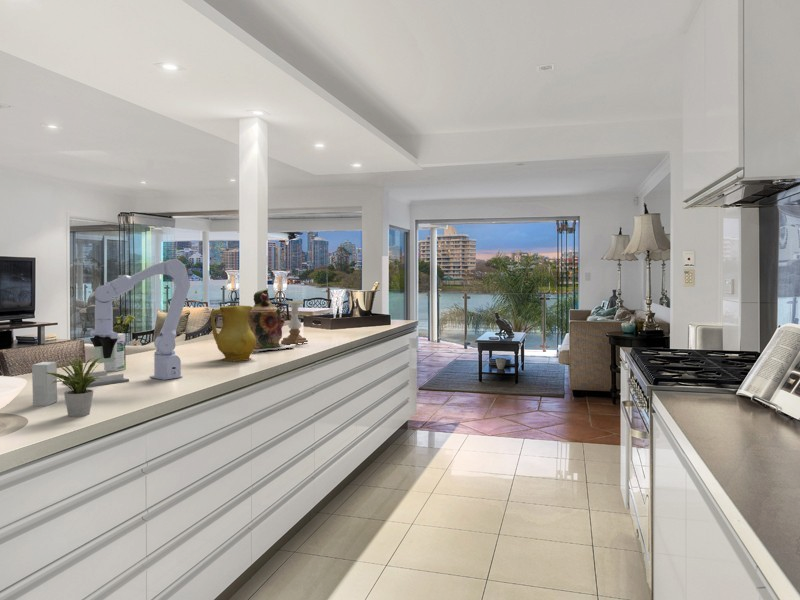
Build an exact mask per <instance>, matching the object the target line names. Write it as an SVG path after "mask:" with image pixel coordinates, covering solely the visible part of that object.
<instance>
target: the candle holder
mask: <svg viewBox="0 0 800 600" xmlns="http://www.w3.org/2000/svg"><path fill="white" fill-rule="evenodd" d="M285 304H286V305H289V306H290V308H291V311H290V312H289V314H290V316H291V317H290V321H289V322H288V325H287V326H288V328H289V331H288V332H289V335H287V337H282V340H280V344H281V343H282V345H287V344H298V343H304V342H308V341H309V339H307V338H306V337H303V336H302V335H301V334H300V333H301V330H300V329H301V327H302V323H301V322H300V319H299V314H300V312H299V307H300V306H301V305H303V304H305V302H304V301H298V300H297V301H295V300H293V301H292V300H291V301H285ZM308 343H309V342H308Z"/></svg>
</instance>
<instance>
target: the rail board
mask: <svg viewBox="0 0 800 600" xmlns="http://www.w3.org/2000/svg"><path fill="white" fill-rule="evenodd" d="M91 372H92V371H90V372H89V374H88V376H89V375H90V376H98V377H94V378H100V379H101V380H100V379H94V380H97V381H94V382H92V383H90V384H89V385H88V386H87V388H92V387H98V386H99V387H100V386H107V385H115V384H121V383H127V382H130V378H129V379H128V378H124V373H116V374H115V373H114V374H108V371H105V370H99V371H93V372H92V373H91ZM85 373H86V372H83V375H85ZM90 373H91V374H90ZM70 375H71V376H72V377H73V375H72V374H70ZM67 377H69V378H70V379H71V377H70V376H69V375H68V374H67ZM92 379H93V378H92ZM64 381H65V380H64ZM65 382H66V381H65ZM65 382H64V383H65ZM64 383H63V384H64ZM65 384H67V383H65ZM65 384H64V385H65ZM67 385H68V384H67Z"/></svg>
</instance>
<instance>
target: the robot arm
mask: <svg viewBox="0 0 800 600" xmlns="http://www.w3.org/2000/svg"><path fill="white" fill-rule="evenodd" d="M156 275H166V276H167V277H168V278H170V279H171V281H172V283H173V284H174V285H175V287H174V291H173V293H172V297H171V300H170V302H169V306H168V310H167V313H166V316H165V318H164V322H163V325H162V328H161V329H160V332H159V334H158V335H157V336H156V338H155V339H154V340H153V341H154V342H153V343H154V348H155V349H156V351H154V353H153V354H154V355H153V357H154V359H153V360H154V363H153V365H154V367H153V368H154V370H153V371H154V373H153V375H149V378H151V379H152V378H153V379H158V380H164V381H165V380H171V379H179V378H183V375H182V372H181V371H182V370H181V369H182V366H181V365H182V364H181V363H182V361H181V358H180V357H179V356H178V355H176V351H175V348H176V336H177V328H178V326H179V322H180V320H181V315H182V312H183V309H184V306H185V303H186V301H187V297H188V294H189V290H190V287H191V281H190V279H189V274H188V271H187V267H186V266H185V265H184V263H183V262H182V261H181V260H180V259H177V258H171V259H167V260H166V261H161V262H157V263H155V264H152V265H150V266H148V267H146V268H144V269H143V270H140V271H139V272H136V273H134V274H133V275H127V274H123V275H122V274H119V275H118V276H117V278H115V279H113V280H112V281H109V282H108V281H105V282H104V284H103V285H102V284H101V285H99V286H98V287H96V288H95V290H94V293H93V295H94V298H95V300H94V301H95V302H94V304H95V305H94V329H93V330H90V336H91V337H90V338H89V340H90V341H91V343H92V345H93V348H94V347H97V346H102V348H103V356H104V358H111V355H112V351H113V348H114V345H115V343H116V342H117V338H118V333H119V332H116V331H114V329H113V327H114V326H113V325H114V323H113V322H114V317H113V315H114V313H113V311H114V309H113V298H114V297H116V298H117V297H118V296H121V295H124V294H125V293H127V292H129V291H132V290H133V289H134V287H135V285H136V284H137V283H140V282H142V281H144V280H148V279H149V278H151V277H153V276H156Z"/></svg>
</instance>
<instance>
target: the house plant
mask: <svg viewBox="0 0 800 600" xmlns="http://www.w3.org/2000/svg"><path fill="white" fill-rule="evenodd" d="M102 358H104V357H102ZM64 359H65V360H66V362H68V363H69V365H70V366H71V368H72V370H73V371H72V370H71V369H70V368H69V367H68V366H67V365H66V364H63V363H59V362H57V361H52V362H53V363H56V364H57V367H59V368H61V369H62V370H63V371H64V372H66V374H67V375H64V374H61V373H47V374H51V375H54V376H56V377H57V381H54V382H57V383H59V382H62V384H63V385H65V386H67V387H68V388H69V389H70V390H67V391H64V392H63V396H64V401H65V406H66V411H67V416H68V417H74V418H78V417H85V416H88V415H90V413H91V408H92V401H93V396H94V390H93V389H88V387H87V386H88V385H89V384H90V383H92V382H94V381H97V380H94V379H100V378H94V377H98V376H90V375H89V376H88V374H89V372H91V373H92V372H94V370H92V369H96V368H97V367H98V366H99V365H100V363H96V362H97V361H98V360H99V359H101V358H98V359H96V360H93V359H94V357H92V358H90V359H88V360H86V361H87V362H86V363H85V365H84V364H83V362H82V357H81V355H79V356H78V360H77V359H76V358H75V357H72V359H73V363H72V362H71V361H70V360H69V359H67V358H66V357H64ZM91 360H93V361H92V362H91V363H90V364H89V365H88V363H89V362H90V361H91ZM58 364H59V365H58ZM96 364H97V365H96ZM87 365H88V368H87V370H86V371H85V369H86V367H87ZM95 365H96V366H95ZM73 372H74V373H73ZM83 373H85V375H84V377H83ZM91 373H90V374H91ZM68 375H69V376H70V377H71V379H70V378H69V377H68ZM71 375H73V377H72V376H71ZM56 377H54V378H56ZM87 377H88V378H87ZM92 378H93V379H92ZM100 380H101V379H100ZM65 381H66V382H65ZM54 382H53V383H54ZM64 382H65V383H67V384H65V383H64Z"/></svg>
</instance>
